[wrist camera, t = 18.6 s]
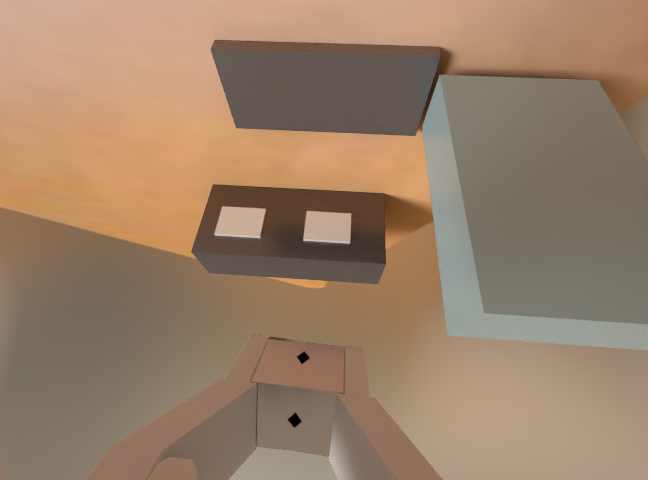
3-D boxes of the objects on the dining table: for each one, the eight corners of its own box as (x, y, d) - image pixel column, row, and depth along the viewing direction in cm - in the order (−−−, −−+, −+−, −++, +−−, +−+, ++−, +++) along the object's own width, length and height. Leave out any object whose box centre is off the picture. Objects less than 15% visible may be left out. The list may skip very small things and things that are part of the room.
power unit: (212, 182, 32) (189, 250, 28) (384, 191, 31) (386, 262, 27) (226, 211, 36) (209, 273, 32) (376, 220, 36) (377, 284, 32)
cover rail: (214, 40, 19) (210, 49, 19) (439, 46, 18) (440, 56, 18) (238, 119, 24) (236, 128, 24) (414, 127, 24) (415, 135, 23)
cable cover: (439, 74, 19) (484, 313, 11) (598, 80, 18) (750, 331, 11) (422, 127, 22) (447, 335, 15) (555, 132, 22) (648, 350, 14)
